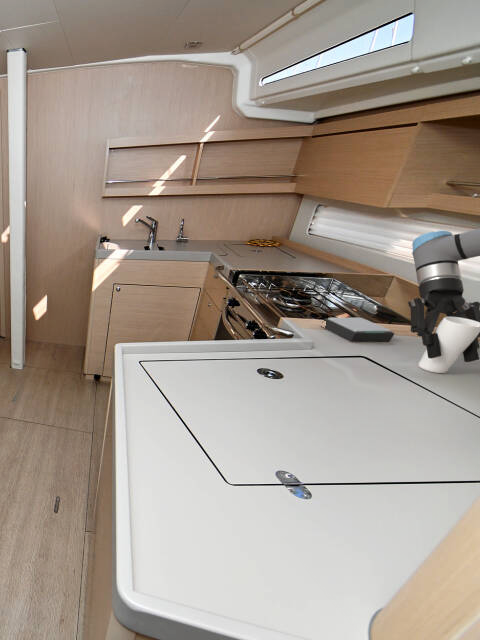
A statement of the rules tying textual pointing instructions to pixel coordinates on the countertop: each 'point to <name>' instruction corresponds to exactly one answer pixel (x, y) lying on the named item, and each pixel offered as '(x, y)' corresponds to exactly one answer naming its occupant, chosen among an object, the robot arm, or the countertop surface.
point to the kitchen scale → (358, 330)
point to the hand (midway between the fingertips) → (453, 358)
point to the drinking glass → (450, 343)
